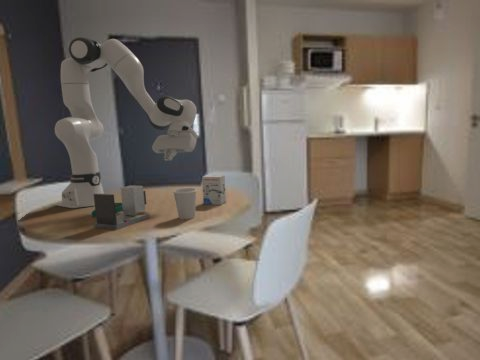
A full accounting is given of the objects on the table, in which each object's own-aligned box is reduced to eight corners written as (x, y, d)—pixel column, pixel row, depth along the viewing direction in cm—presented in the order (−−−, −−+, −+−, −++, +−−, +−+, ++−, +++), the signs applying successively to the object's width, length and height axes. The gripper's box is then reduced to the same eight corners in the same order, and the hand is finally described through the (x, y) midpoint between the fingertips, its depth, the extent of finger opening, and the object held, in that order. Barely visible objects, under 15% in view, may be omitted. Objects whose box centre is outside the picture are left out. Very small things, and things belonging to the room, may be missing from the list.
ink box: (202, 204, 150) (200, 176, 149) (208, 201, 155) (206, 174, 153) (221, 205, 147) (219, 176, 145) (226, 202, 152) (225, 174, 150)
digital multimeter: (90, 218, 139) (90, 210, 139) (114, 208, 153) (113, 202, 153) (107, 218, 137) (106, 211, 137) (129, 209, 151) (128, 202, 151)
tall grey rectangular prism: (123, 214, 132) (120, 187, 130) (135, 210, 138) (133, 184, 136) (141, 216, 128) (139, 188, 127) (153, 211, 134) (151, 185, 132)
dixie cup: (201, 214, 133) (199, 187, 132) (194, 220, 125) (192, 192, 123) (179, 214, 135) (177, 188, 133) (171, 220, 126) (169, 192, 125)
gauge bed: (94, 227, 123) (90, 194, 121) (128, 215, 137) (125, 186, 135) (116, 229, 118) (112, 195, 117) (149, 217, 133) (146, 186, 131)
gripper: (155, 130, 158) (143, 156, 152) (193, 126, 149) (183, 154, 142) (163, 138, 163) (152, 164, 157) (201, 136, 153) (191, 163, 147)
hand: (167, 159), depth 150 cm, fingers closed
